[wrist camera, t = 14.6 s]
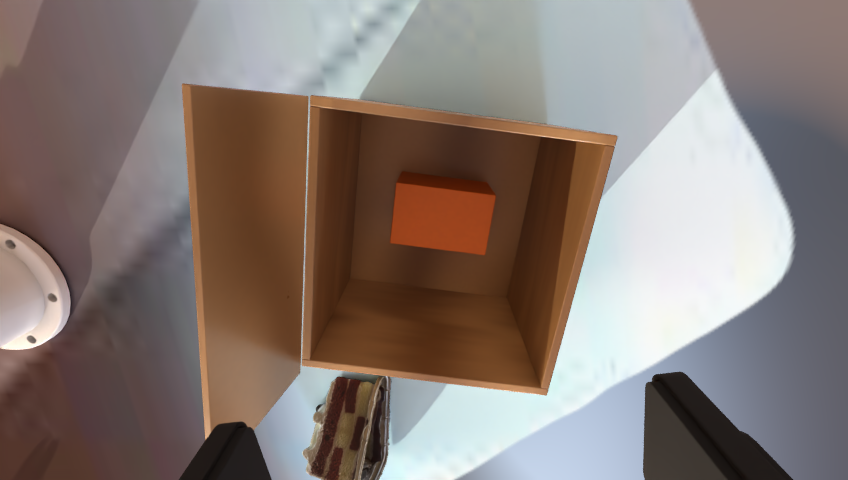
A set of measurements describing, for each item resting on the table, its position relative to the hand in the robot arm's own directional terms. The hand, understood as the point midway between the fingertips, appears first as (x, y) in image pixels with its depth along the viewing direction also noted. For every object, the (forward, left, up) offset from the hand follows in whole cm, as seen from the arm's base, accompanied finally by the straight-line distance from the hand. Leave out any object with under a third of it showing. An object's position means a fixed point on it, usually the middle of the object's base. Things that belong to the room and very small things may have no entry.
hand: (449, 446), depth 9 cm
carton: (0, 0, -25) cm, 25 cm away
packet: (0, 0, -25) cm, 25 cm away
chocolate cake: (-6, -23, -25) cm, 35 cm away
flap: (-8, 0, -8) cm, 12 cm away
